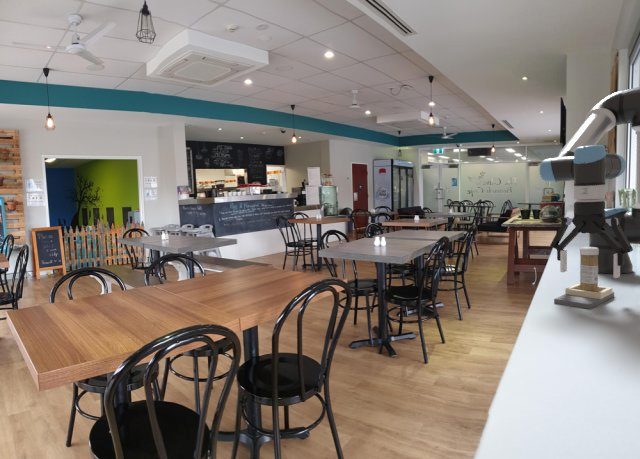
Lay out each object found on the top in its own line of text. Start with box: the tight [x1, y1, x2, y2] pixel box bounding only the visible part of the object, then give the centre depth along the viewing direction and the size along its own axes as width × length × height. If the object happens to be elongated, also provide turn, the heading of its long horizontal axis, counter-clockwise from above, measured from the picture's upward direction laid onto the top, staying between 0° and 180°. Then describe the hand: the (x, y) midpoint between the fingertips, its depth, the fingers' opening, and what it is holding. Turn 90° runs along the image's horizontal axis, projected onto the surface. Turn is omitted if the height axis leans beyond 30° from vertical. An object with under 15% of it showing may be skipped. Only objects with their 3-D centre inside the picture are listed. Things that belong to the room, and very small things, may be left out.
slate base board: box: [553, 283, 615, 310], centre depth 119 cm, size 18×9×3 cm, turn 128°
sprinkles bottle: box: [579, 246, 599, 292], centre depth 120 cm, size 5×5×14 cm
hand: (589, 274), depth 120 cm, fingers open, 13 cm apart
